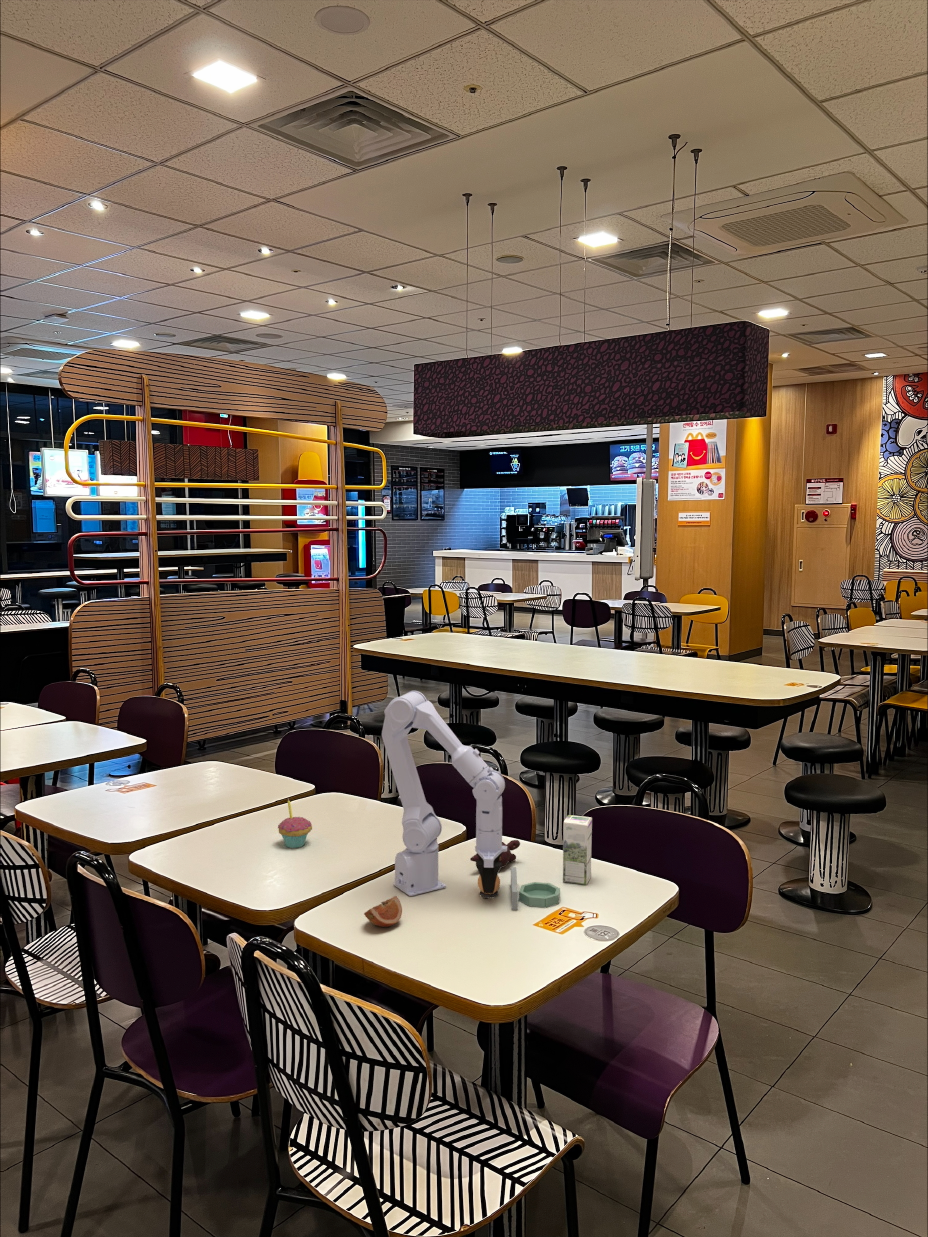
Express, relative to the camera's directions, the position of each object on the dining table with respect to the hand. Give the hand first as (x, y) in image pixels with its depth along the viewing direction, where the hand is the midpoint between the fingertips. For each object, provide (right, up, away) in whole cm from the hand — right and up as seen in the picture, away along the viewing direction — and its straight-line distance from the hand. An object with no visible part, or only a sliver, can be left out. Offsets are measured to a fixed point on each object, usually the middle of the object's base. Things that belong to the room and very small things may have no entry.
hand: (488, 887), depth 195 cm
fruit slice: (-22, -3, -15) cm, 27 cm away
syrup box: (+21, -1, +9) cm, 22 cm away
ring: (0, -2, 0) cm, 2 cm away
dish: (+11, -2, -2) cm, 11 cm away
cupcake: (-49, +1, +32) cm, 58 cm away
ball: (0, +1, 0) cm, 1 cm away
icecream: (+2, 0, +16) cm, 16 cm away
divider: (+6, -2, -1) cm, 6 cm away
